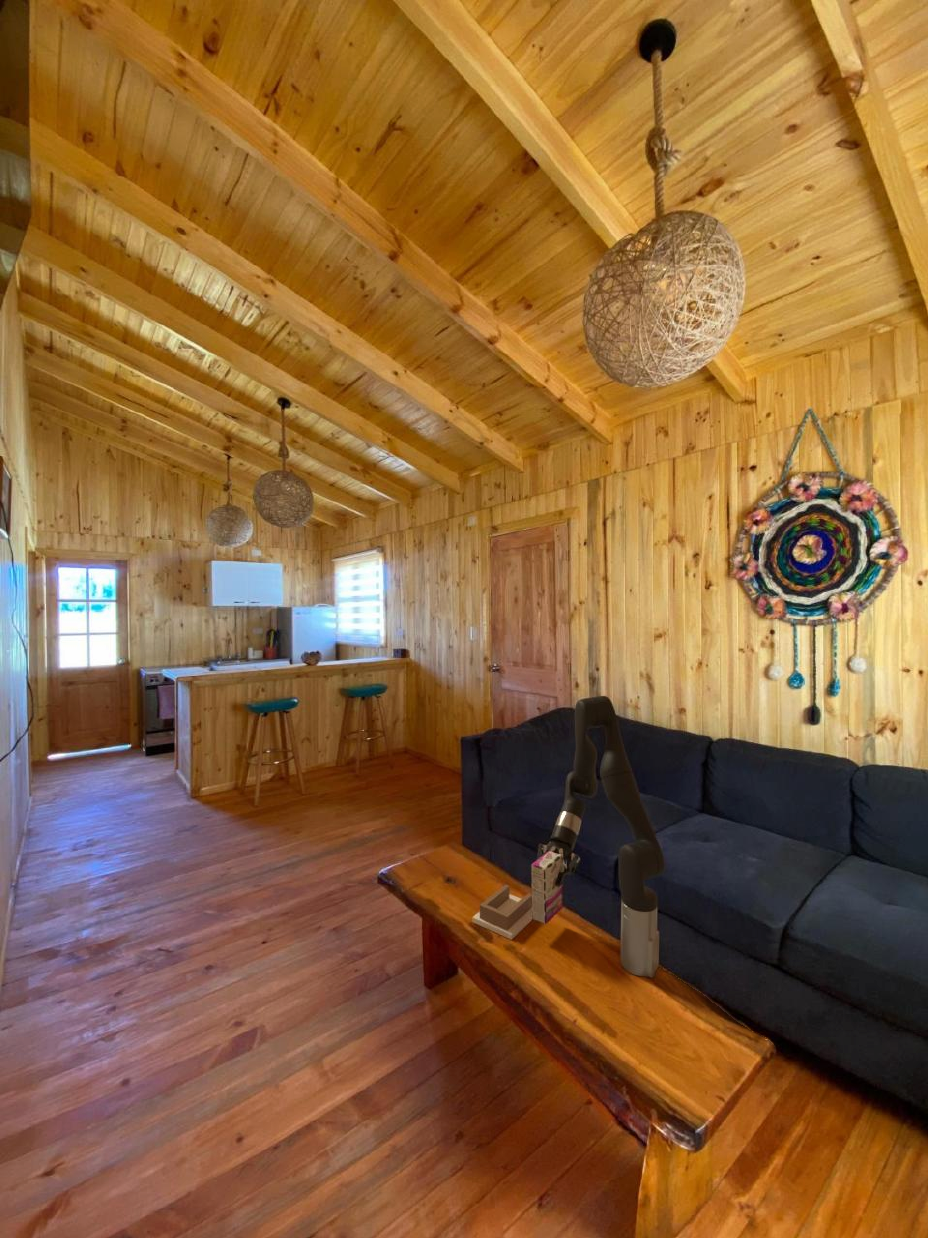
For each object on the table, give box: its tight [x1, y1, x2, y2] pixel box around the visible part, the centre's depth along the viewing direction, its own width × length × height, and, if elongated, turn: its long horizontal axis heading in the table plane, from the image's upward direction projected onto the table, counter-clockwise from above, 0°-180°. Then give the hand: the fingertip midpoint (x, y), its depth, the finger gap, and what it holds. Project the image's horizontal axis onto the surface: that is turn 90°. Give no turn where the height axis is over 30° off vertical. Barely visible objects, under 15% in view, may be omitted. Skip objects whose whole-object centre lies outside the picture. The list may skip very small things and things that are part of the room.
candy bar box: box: [530, 850, 564, 925], centre depth 154 cm, size 11×5×16 cm, turn 143°
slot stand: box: [471, 884, 533, 941], centre depth 161 cm, size 14×18×6 cm
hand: (549, 883), depth 155 cm, fingers closed on candy bar box, 5 cm apart
